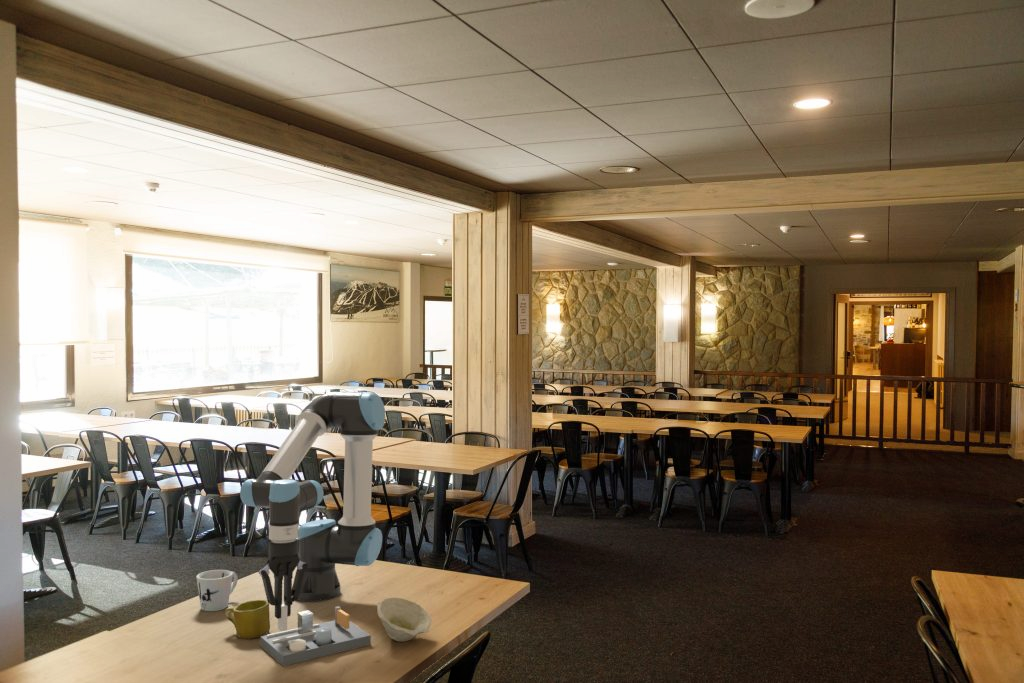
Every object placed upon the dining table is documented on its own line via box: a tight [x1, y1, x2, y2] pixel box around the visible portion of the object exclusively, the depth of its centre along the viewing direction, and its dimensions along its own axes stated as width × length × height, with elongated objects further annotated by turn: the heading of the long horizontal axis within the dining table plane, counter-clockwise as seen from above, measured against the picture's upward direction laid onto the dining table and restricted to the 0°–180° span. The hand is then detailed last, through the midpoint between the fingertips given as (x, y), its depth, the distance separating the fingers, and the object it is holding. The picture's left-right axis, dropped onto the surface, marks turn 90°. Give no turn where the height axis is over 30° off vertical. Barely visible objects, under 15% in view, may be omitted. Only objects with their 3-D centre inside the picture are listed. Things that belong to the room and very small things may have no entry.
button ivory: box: [290, 639, 306, 653], centre depth 201 cm, size 4×4×3 cm
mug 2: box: [224, 599, 271, 640], centre depth 218 cm, size 12×10×10 cm
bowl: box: [376, 597, 432, 643], centre depth 214 cm, size 15×14×10 cm
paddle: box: [334, 606, 350, 629], centre depth 215 cm, size 7×1×5 cm, turn 37°
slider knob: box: [297, 610, 314, 634], centre depth 212 cm, size 3×3×5 cm
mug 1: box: [196, 569, 239, 612], centre depth 241 cm, size 10×15×10 cm
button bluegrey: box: [316, 627, 332, 646], centre depth 206 cm, size 4×4×3 cm
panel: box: [260, 619, 372, 667], centre depth 210 cm, size 16×24×3 cm, turn 127°
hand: (282, 629), depth 208 cm, fingers closed
